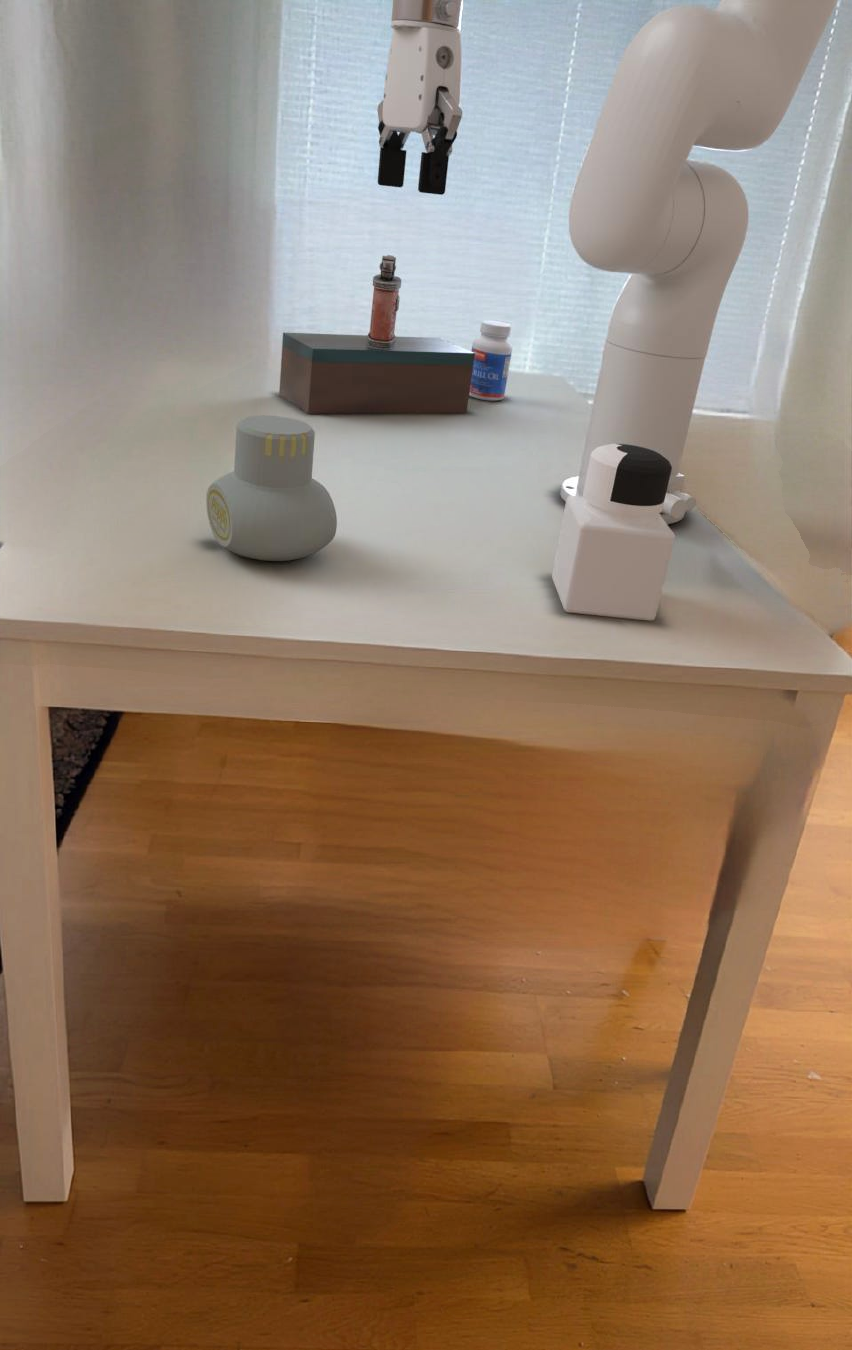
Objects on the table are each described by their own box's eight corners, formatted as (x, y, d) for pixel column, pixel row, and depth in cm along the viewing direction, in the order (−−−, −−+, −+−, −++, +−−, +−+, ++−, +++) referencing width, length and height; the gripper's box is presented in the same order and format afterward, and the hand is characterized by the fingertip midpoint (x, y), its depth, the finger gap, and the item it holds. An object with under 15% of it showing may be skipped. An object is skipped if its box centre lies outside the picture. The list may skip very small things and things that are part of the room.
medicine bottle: (635, 587, 87) (669, 443, 82) (655, 622, 81) (692, 469, 76) (550, 578, 87) (578, 432, 81) (563, 613, 80) (594, 458, 75)
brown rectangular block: (466, 413, 136) (475, 353, 133) (308, 414, 125) (312, 348, 122) (432, 395, 143) (439, 338, 139) (279, 394, 132) (282, 332, 129)
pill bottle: (460, 396, 144) (470, 322, 140) (470, 389, 149) (480, 317, 145) (499, 403, 143) (511, 329, 139) (508, 397, 148) (519, 324, 144)
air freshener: (342, 572, 82) (354, 445, 78) (237, 578, 79) (244, 445, 74) (295, 524, 91) (303, 407, 86) (199, 527, 87) (202, 405, 83)
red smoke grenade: (393, 350, 127) (402, 262, 122) (364, 347, 127) (373, 258, 122) (396, 339, 134) (405, 255, 130) (369, 335, 134) (377, 251, 130)
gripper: (499, 19, 110) (477, 199, 118) (418, 25, 123) (402, 186, 131) (437, 7, 106) (418, 193, 114) (360, 14, 120) (347, 181, 127)
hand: (410, 189), depth 122 cm, fingers open, 9 cm apart
